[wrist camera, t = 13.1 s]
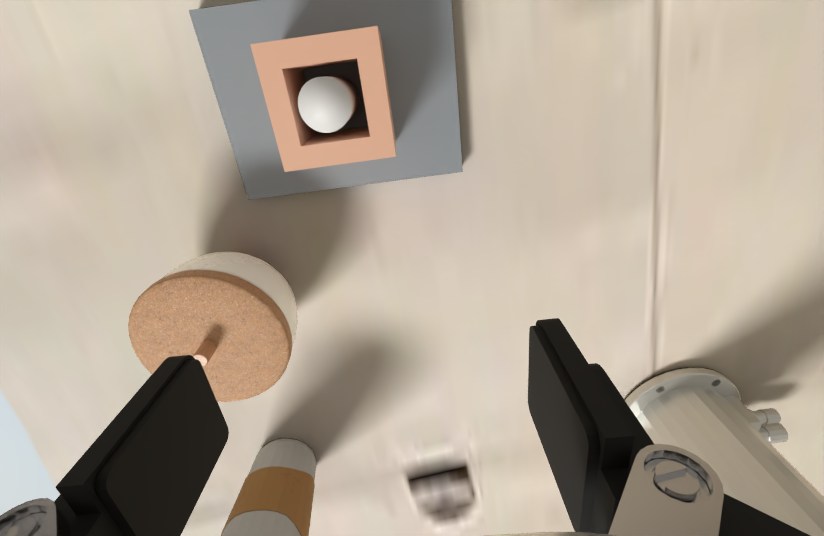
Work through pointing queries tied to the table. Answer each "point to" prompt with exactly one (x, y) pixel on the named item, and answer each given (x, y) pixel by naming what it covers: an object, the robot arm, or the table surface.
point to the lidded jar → (219, 322)
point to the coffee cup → (276, 492)
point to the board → (405, 80)
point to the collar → (286, 77)
